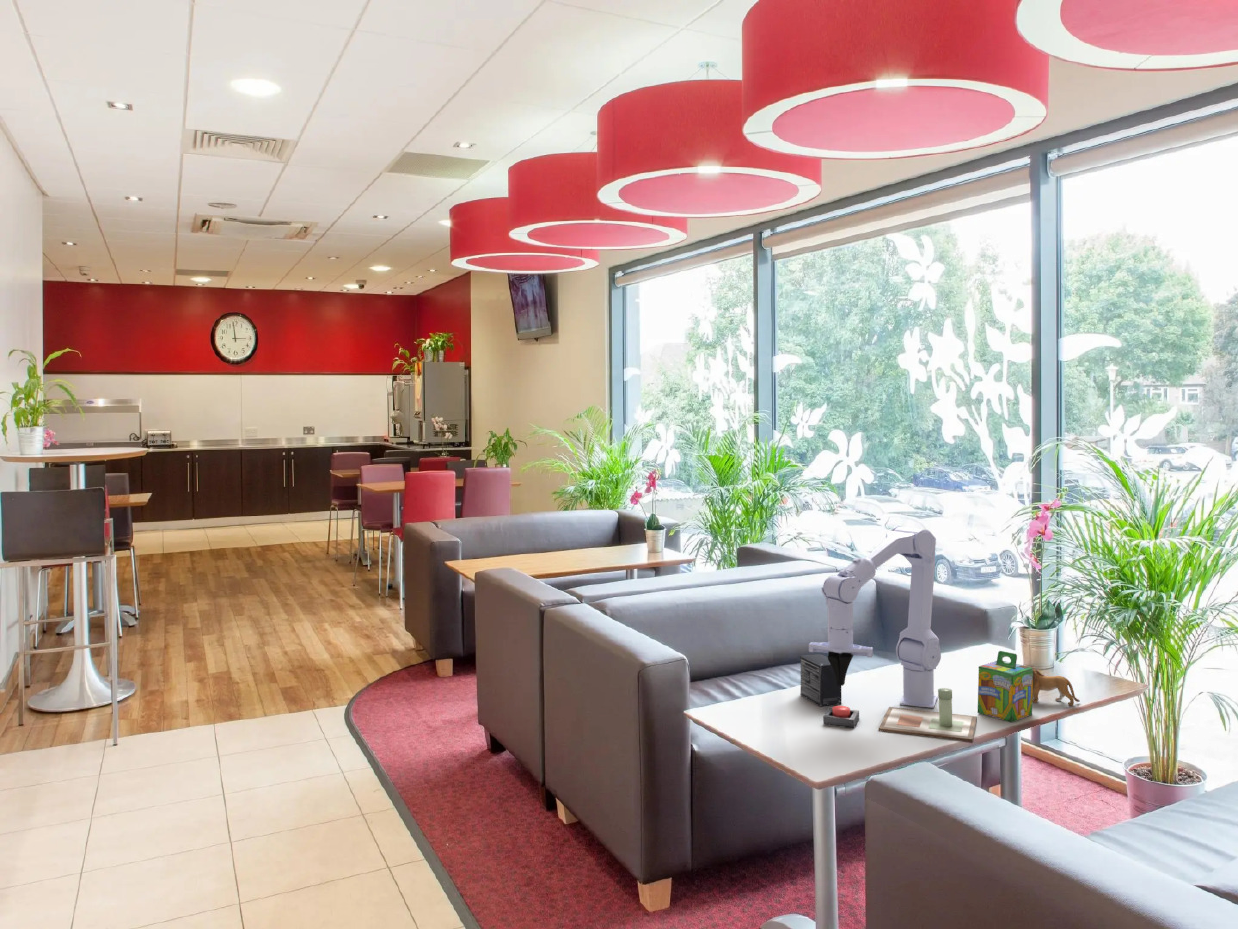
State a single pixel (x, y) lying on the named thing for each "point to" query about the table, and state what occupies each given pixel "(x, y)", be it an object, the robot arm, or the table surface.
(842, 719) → the button housing
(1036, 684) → the lion figurine
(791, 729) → the table surface
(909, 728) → the framed sorting board
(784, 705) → the table surface
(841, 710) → the button
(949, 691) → the sage marker
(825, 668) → the small box
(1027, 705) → the chalk box
